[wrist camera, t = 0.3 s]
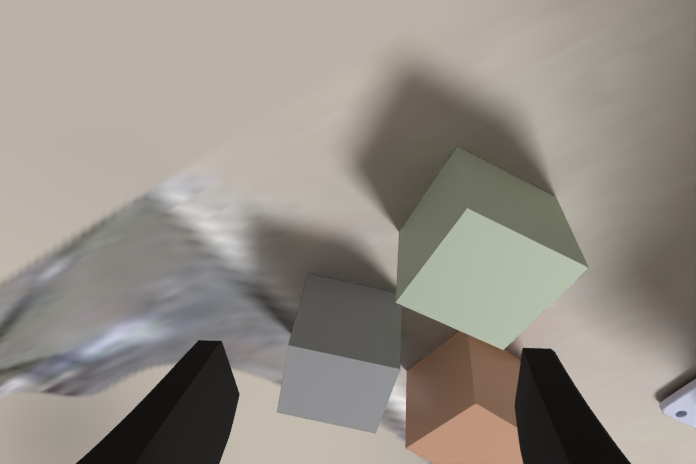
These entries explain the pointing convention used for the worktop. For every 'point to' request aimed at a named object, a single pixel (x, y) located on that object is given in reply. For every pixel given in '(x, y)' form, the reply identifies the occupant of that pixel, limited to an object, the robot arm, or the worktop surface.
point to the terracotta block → (463, 404)
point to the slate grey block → (342, 354)
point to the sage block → (485, 251)
